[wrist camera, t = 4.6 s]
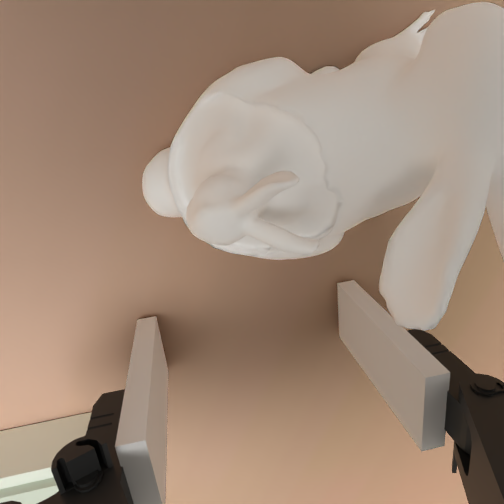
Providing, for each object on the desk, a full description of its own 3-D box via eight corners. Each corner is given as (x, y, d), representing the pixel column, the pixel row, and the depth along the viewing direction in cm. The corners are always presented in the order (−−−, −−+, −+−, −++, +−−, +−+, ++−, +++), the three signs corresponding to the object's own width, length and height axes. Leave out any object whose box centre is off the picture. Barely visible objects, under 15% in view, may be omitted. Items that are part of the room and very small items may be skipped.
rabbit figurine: (438, 7, 14) (872, -159, 5) (456, 202, 17) (763, 305, 8) (116, 108, 14) (4, 108, 5) (191, 295, 16) (211, 520, 7)
